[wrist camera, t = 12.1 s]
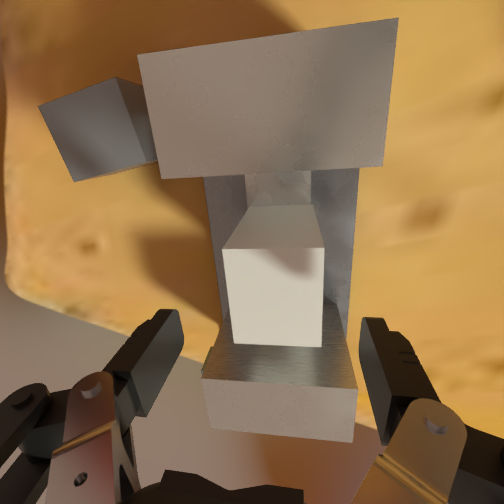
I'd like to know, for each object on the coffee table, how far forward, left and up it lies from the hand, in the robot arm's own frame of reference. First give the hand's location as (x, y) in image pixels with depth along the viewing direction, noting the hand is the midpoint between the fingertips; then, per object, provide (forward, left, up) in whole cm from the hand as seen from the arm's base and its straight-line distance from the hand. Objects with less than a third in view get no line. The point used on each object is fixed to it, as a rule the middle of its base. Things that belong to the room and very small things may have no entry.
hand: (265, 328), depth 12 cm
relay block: (-9, -12, -13) cm, 20 cm away
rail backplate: (0, 0, -13) cm, 13 cm away
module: (0, 0, -12) cm, 12 cm away
